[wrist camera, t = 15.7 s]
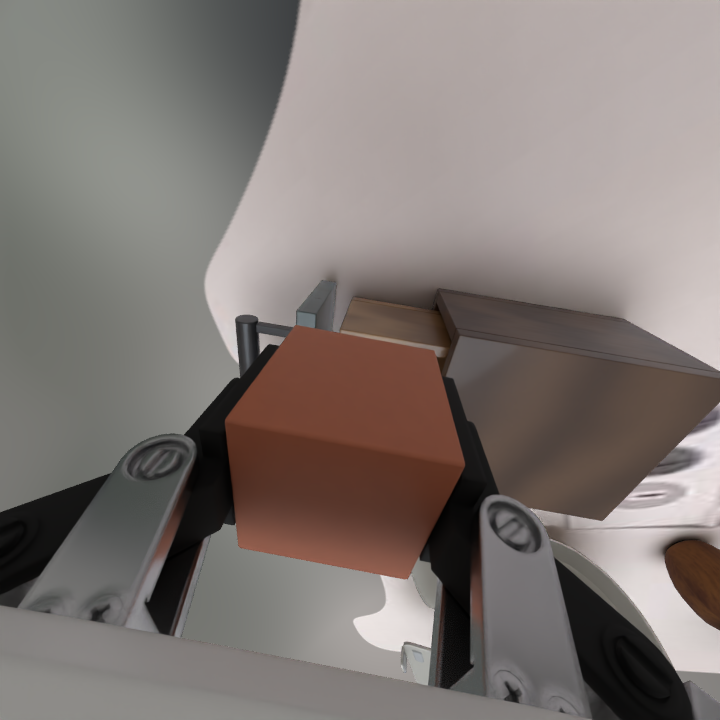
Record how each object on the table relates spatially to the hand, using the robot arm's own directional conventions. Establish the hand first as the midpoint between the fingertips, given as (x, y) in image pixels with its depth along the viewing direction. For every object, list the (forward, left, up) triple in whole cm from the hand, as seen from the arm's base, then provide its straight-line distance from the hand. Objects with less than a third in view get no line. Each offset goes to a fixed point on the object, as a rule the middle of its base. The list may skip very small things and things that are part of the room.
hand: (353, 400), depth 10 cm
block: (0, 0, 0) cm, 0 cm away
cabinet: (+6, +12, -16) cm, 21 cm away
